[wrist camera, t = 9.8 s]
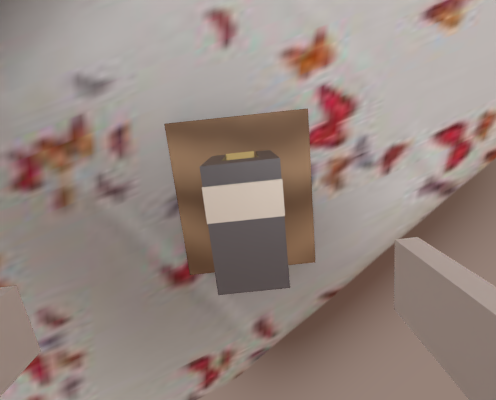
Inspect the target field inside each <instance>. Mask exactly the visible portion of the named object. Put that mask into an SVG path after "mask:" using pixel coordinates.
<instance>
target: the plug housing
mask: <svg viewBox="0 0 496 400" xmlns="http://www.w3.org/2000/svg"><path fill="white" fill-rule="evenodd" d="M200 174H201V180H202V193H203V200H204V207H205V213H206V220H207V224H208V228H209V235H210V242H211V248H212V255H213V262H214V269H215V276H216V282H217V289H218V295H223V294H233V293H243V292H253V291H263V290H273V289H282V288H290V283H289V269H288V256H287V243H286V230H285V217H284V216H285V208H284V194H283V181H282V177H281V164H280V158H279V157H278V156H277V155H276V154H274V153H273V152H272V151H271V150H264V151H256V157H254V158H244V159H235V160H226V155H218V156H212V157H210V158H209V159H208V160H207V161H206V162H204V163H203V164H202V165H201V166H200Z"/></svg>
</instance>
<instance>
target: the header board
mask: <svg viewBox="0 0 496 400" xmlns="http://www.w3.org/2000/svg"><path fill="white" fill-rule="evenodd" d="M165 130H166V136H167V142H168V148H169V153H170V159H171V165H172V171H173V177H174V183H175V189H176V195H177V201H178V206H179V212H180V218H181V224H182V230H183V236H184V242H185V248H186V253H187V259H188V265H189V271H190V275H193V274H203V273H213V272H215V269H214V262H213V255H212V248H211V242H210V235H209V228H208V224H207V220H206V213H205V207H204V200H203V193H202V180H201V174H200V166H201V165H202V164H203V163H204V162H206V161H207V160H208V159H209V158H210V157H212V156H218V155H226V160H235V159H244V158H254V157H256V151H264V150H271V151H272V152H273V153H274V154H276V155H277V156H278V157H279V158H280V164H281V177H282V181H283V194H284V208H285V216H284V217H285V230H286V243H287V256H288V265H292V264H302V263H312V262H315V246H314V225H313V205H312V184H311V164H310V143H309V123H308V109H299V110H290V111H281V112H271V113H262V114H253V115H243V116H234V117H225V118H215V119H206V120H197V121H187V122H178V123H169V124H165Z"/></svg>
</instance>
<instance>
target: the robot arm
mask: <svg viewBox="0 0 496 400" xmlns="http://www.w3.org/2000/svg"><path fill="white" fill-rule="evenodd" d="M394 275H395V276H394V310H395V311H396V312H397V313H398V315H399V316H400V317H401V318H402V319H403V321H404V322H405V323H406V324H407V325H408V327H409V328H410V329H411V330H412V331H413V333H414V334H415V335H416V336H417V338H418V339H419V340H420V341H421V342H422V344H423V345H424V346H425V347H426V348H427V350H428V351H429V352H430V353H431V355H432V356H433V357H434V358H435V359H436V361H437V362H438V363H439V364H440V365H441V367H442V368H443V369H444V370H445V371H446V373H447V374H448V375H449V376H450V377H451V379H452V380H453V381H454V382H455V383H456V385H457V386H458V387H459V388H460V389H461V391H462V392H463V393H464V394H465V396H466V397H467V398H468V399H469V400H496V287H495V286H494V285H492V284H491V283H489V282H487V281H486V280H484V279H482V278H481V277H480V276H478V275H476V274H475V273H473V272H472V271H470V270H468V269H467V268H465V267H464V266H462V265H461V264H459V263H457V262H456V261H454V260H453V259H451V258H450V257H448V256H446V255H445V254H443V253H442V252H440V251H439V250H437V249H435V248H434V247H432V246H431V245H429V244H428V243H426V242H424V241H423V240H421V239H420V238H418V237H414V238H406V239H397V240H395V272H394ZM40 352H41V350H40V347H39V344H38V342H37V339H36V336H35V334H34V331H33V328H32V326H31V323H30V321H29V318H28V315H27V313H26V310H25V307H24V305H23V302H22V299H21V297H20V294H19V291H18V289H17V286H9V287H1V288H0V397H1V395H2V394H3V393H4V392H5V391H6V390H7V389H8V388H9V386H10V385H11V384H12V383H13V382H14V381H15V380H16V379H17V377H18V376H19V375H20V374H21V373H22V372H23V371H24V370H25V368H26V367H27V366H28V365H29V364H30V363H31V362H32V361H33V359H34V358H35V357H36V356H37V355H38V354H39V353H40Z"/></svg>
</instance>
